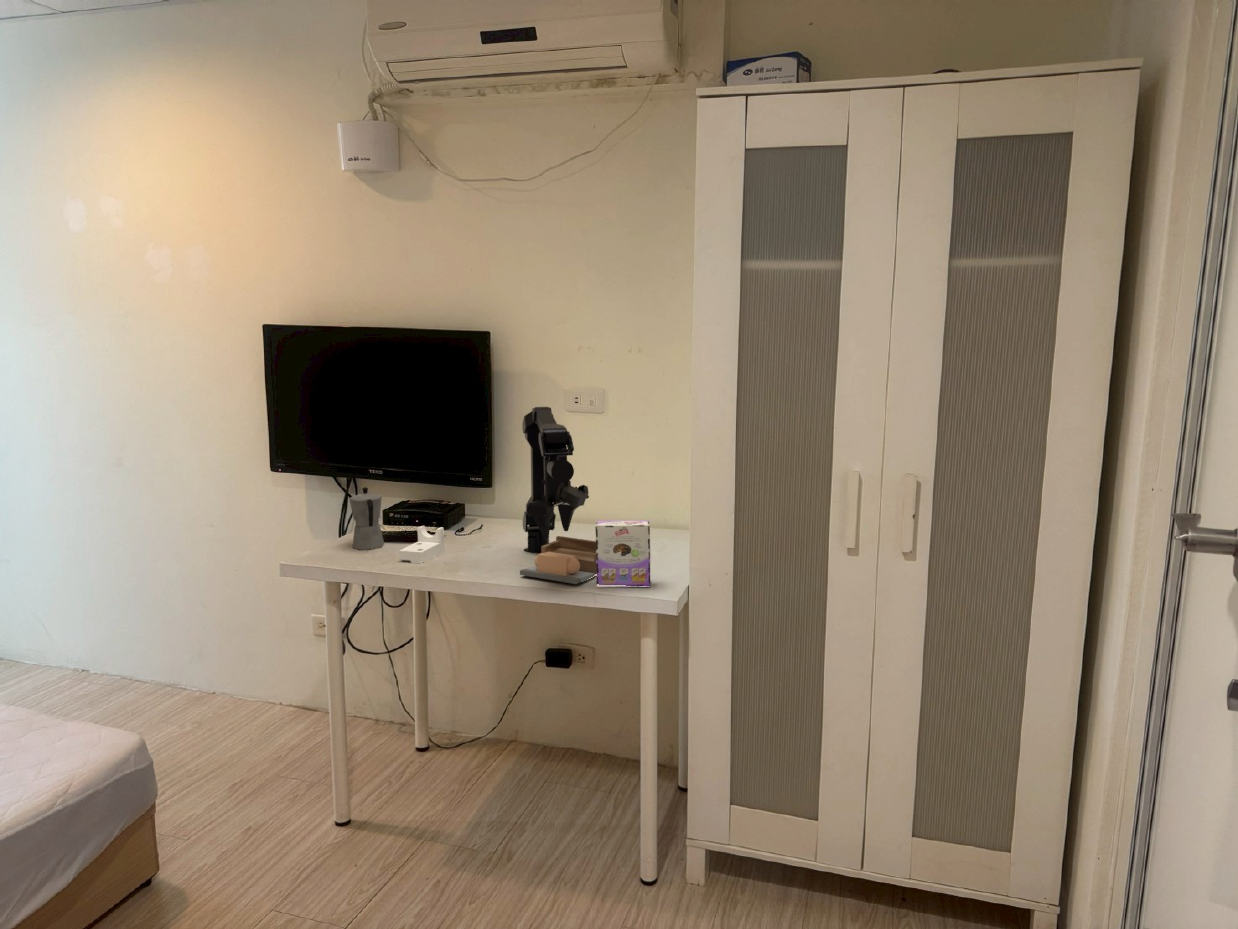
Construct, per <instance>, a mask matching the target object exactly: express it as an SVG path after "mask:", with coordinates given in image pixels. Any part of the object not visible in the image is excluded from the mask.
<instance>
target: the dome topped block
mask: <svg viewBox="0 0 1238 929" xmlns="http://www.w3.org/2000/svg"><path fill="white" fill-rule="evenodd" d="M534 566H536V567H537V571H539V572H545V573H551V574H557V575H563V576H567V575H571V574H575V573H577V572H578V571H579V569H580V563H579V561H578V560H577V556H574V555H567V554H561V553H554V552H546V553H537V555H536V556H535V559H534Z"/></svg>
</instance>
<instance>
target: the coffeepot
mask: <svg viewBox="0 0 1238 929" xmlns="http://www.w3.org/2000/svg"><path fill="white" fill-rule="evenodd" d="M368 490H369V488H368V487H367V486H366V487H362V493H360V494H359V493H358V494H356V495H353V496H351V497H350V498H349V504H350V508H351V513H352V518H353V521H354V522H355V525H354V531H353V540H352V548H353V549H355V550H358V551H359V550H360V551H371V550H377V549H380V548H382V547H383V546H384V545H385V541H384V536H383V532H382V529H381V525H380V520H379V519H380V517H381V508H382V497H383V496H382V495H379V494H375V493H368Z"/></svg>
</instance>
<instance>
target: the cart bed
mask: <svg viewBox="0 0 1238 929" xmlns="http://www.w3.org/2000/svg"><path fill="white" fill-rule="evenodd" d="M546 552H554V553H561V554H567V555H574V556H577V560H578V561H579V563H580V569H579V571H583V572H589V573H595V574H596V540H590V539H582V538H577V537H576V538H575V537H569V536H568V537H567V536H563V535H562V536H561V535H557V536H555V540H553V541H551V542H549V543H548V544H546V545H544V546H541V553H546Z"/></svg>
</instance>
